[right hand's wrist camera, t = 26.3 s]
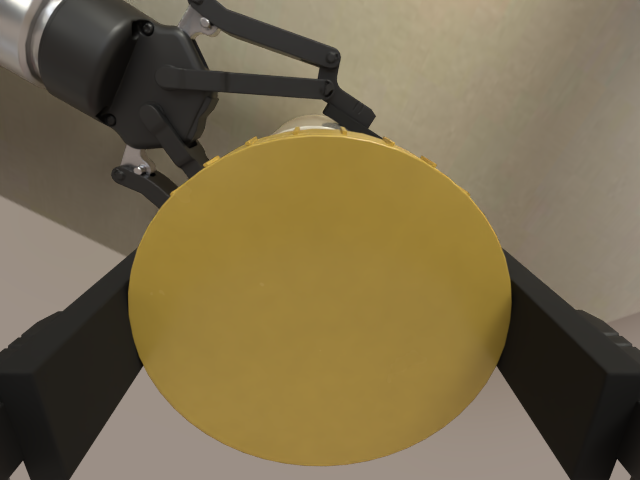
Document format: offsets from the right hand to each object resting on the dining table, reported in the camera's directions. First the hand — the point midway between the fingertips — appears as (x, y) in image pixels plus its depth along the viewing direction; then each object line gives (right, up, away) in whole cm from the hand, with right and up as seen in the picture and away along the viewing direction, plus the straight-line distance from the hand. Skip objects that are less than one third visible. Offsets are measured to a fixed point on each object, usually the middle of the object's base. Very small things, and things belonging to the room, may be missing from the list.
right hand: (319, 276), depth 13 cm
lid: (0, -1, -3) cm, 3 cm away
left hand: (+3, +3, +16) cm, 16 cm away
